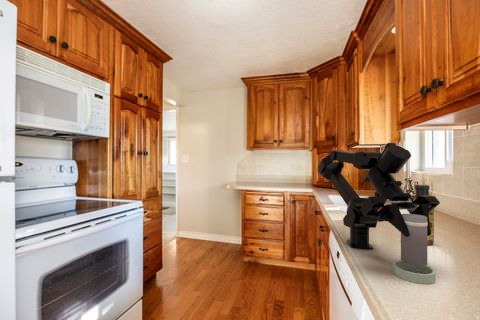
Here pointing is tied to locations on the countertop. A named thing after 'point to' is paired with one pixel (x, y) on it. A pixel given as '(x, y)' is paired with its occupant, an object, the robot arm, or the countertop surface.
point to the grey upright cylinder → (415, 240)
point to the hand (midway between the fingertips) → (418, 235)
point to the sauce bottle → (424, 191)
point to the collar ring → (414, 277)
